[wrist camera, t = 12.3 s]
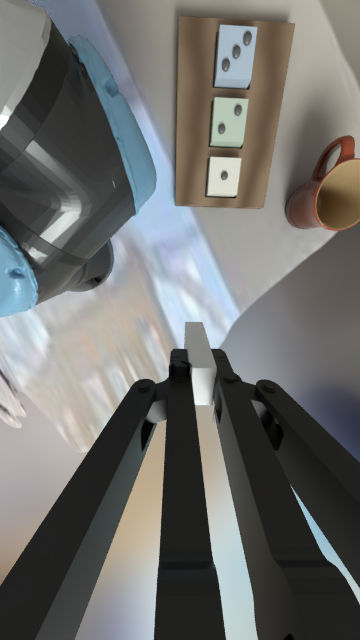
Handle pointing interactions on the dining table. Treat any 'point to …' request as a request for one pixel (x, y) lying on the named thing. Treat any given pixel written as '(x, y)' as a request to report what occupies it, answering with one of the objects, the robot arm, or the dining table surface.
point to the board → (199, 97)
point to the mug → (329, 192)
